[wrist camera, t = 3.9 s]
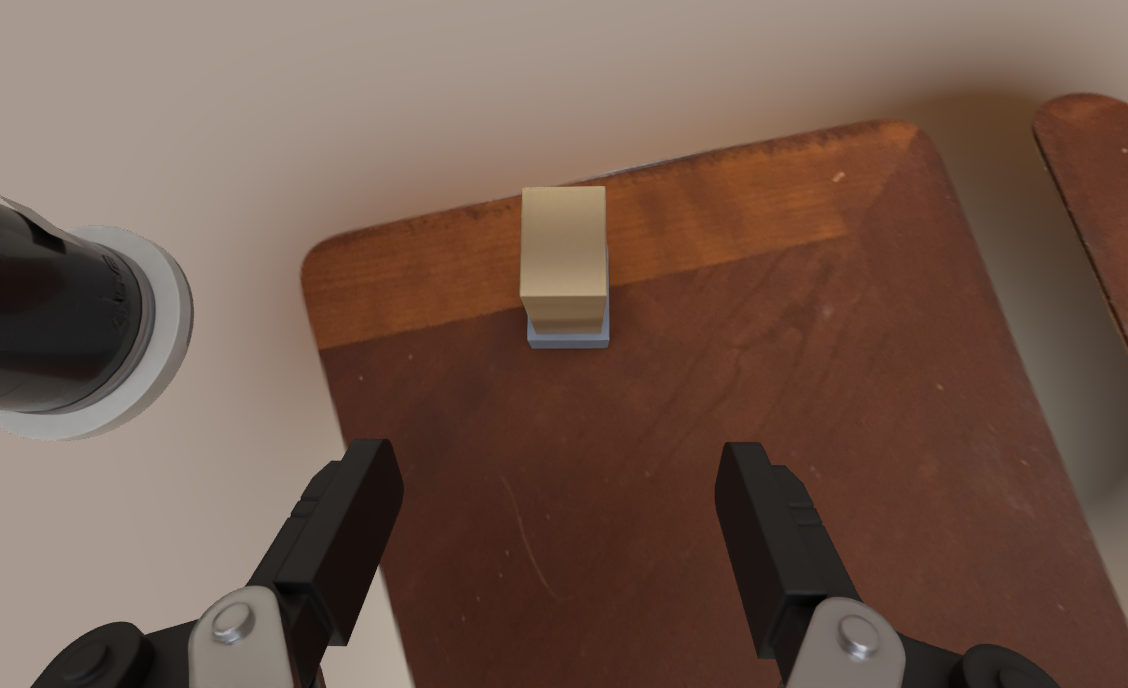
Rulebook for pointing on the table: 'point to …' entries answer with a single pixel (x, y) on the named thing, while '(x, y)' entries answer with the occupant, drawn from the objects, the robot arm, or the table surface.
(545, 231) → the eraser
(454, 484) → the table surface
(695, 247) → the table surface
